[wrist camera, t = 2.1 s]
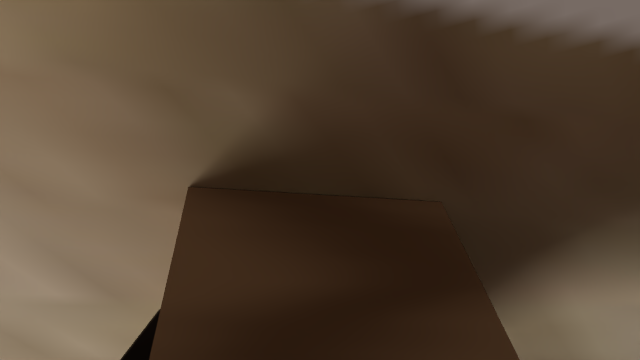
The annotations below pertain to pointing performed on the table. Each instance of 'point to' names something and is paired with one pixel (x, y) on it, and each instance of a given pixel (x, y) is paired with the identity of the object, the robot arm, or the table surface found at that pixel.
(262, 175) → the table surface
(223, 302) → the walnut cube
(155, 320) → the robot arm
